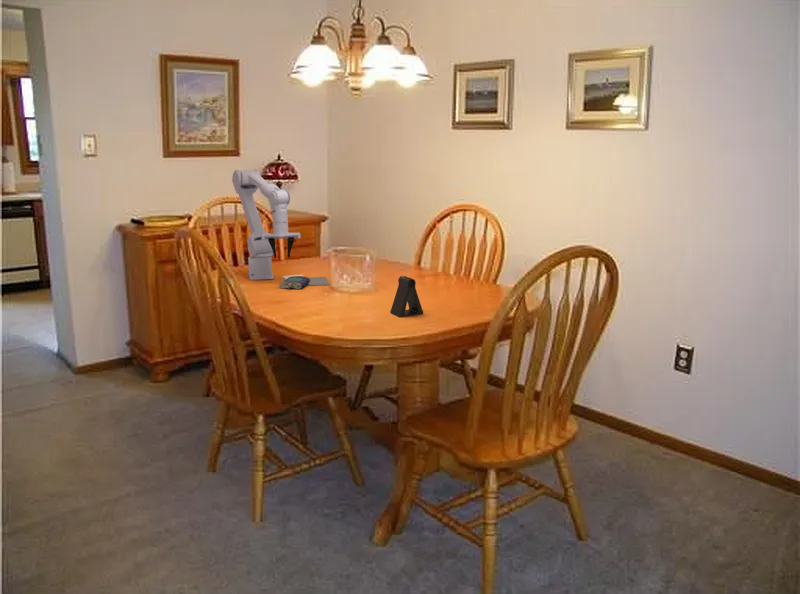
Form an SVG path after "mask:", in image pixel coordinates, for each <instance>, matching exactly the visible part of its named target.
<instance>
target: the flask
mask: <svg viewBox="0 0 800 594" xmlns="http://www.w3.org/2000/svg"><path fill="white" fill-rule="evenodd" d="M309 282H310V279H309V278H307V276H304V275H303V276H293V277H289V278H287V279H286V280H285V279H284V280H283V281H282V282H280V283H279V288H280V289H295V290H302V289H303V288H304V287H305V286H307V285H308V283H309Z"/></svg>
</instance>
